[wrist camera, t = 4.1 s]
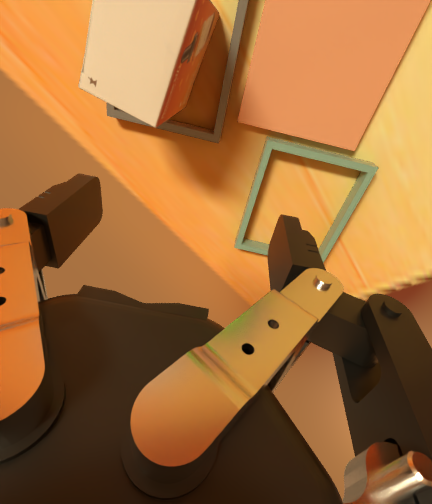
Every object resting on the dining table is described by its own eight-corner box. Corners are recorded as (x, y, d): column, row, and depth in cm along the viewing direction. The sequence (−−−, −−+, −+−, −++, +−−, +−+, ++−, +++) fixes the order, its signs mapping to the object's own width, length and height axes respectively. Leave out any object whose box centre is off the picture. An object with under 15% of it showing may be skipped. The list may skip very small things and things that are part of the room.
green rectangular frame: (373, 162, 28) (378, 167, 27) (318, 260, 36) (320, 267, 35) (266, 136, 28) (267, 140, 27) (235, 241, 36) (234, 247, 35)
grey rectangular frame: (257, -42, 21) (258, -48, 19) (220, 139, 29) (218, 143, 27) (109, -83, 20) (99, -91, 19) (113, 113, 28) (107, 115, 27)
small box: (185, 108, 27) (155, 132, 19) (132, 78, 26) (75, 90, 18) (222, 12, 23) (203, -13, 14) (159, -29, 22) (99, -81, 13)
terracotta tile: (431, -11, 20) (437, -13, 20) (352, 148, 28) (354, 151, 27) (277, -53, 20) (278, -57, 19) (237, 120, 27) (237, 121, 27)
